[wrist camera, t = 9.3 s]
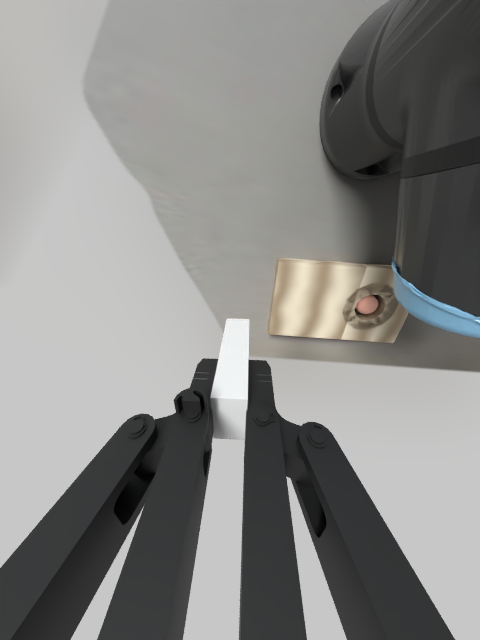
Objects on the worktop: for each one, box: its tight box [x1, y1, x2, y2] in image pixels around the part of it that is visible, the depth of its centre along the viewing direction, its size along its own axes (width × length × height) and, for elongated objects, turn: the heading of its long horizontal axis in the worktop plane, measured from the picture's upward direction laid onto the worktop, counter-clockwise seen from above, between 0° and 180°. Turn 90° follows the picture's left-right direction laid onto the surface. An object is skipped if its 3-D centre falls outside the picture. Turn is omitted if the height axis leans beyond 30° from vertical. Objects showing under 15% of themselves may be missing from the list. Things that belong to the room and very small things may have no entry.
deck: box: [268, 258, 409, 343], centre depth 38 cm, size 24×14×2 cm, turn 87°
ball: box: [356, 295, 378, 314], centre depth 37 cm, size 4×4×4 cm
